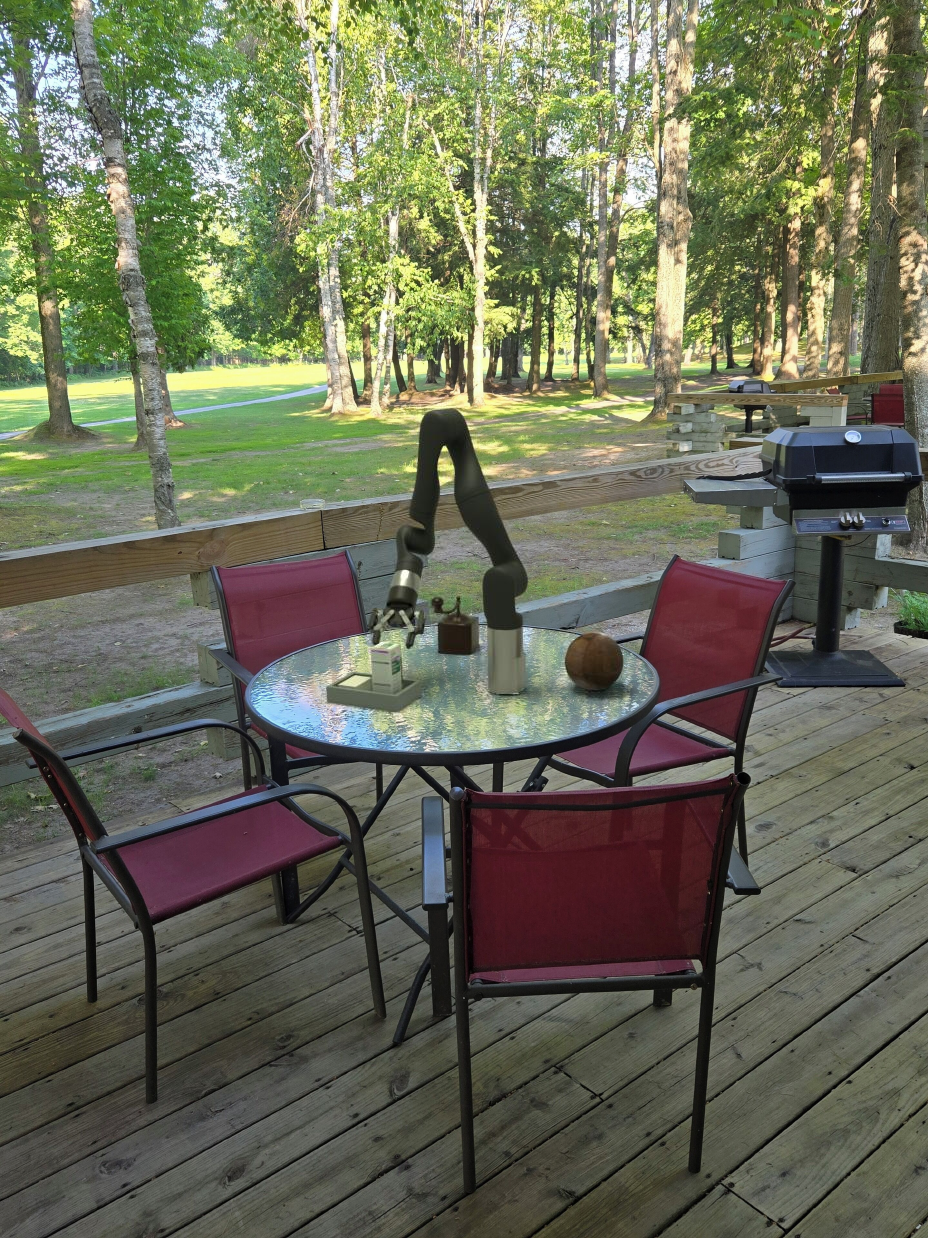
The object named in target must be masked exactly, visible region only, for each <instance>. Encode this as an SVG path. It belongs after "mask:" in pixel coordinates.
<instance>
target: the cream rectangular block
mask: <svg viewBox="0 0 928 1238" xmlns="http://www.w3.org/2000/svg"><path fill="white" fill-rule="evenodd" d="M338 686H339V687H343V688H351V689H358V690H365V691H372V677H364V676H356V675H355V676H353V677H351V678H349V679H348V680H346V681H344V682H342V683H340V684H339V685H338Z"/></svg>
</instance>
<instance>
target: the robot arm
mask: <svg viewBox="0 0 928 1238" xmlns="http://www.w3.org/2000/svg"><path fill="white" fill-rule="evenodd" d="M443 447H446V449H447V451H448V453H449V454H448V455H449V456H450V458H451V459H450V460H451V462H452V465H453V471H454V481H453V494H454V495H453V496H454V500H455V503H456V507H457V509H458V512H459V515H460V516H461V519H462V522H463V523H464V525H465V526H466V528H467V529H468V530H469V531H470V532H471V533H472V534H473V536H474V537H475V538H476V539H477V540H478V541H479V542H480V543H481V544H482V545H483V547H484V549H485V550H486V552H487V554H488V556H489V559H490V561H491V563H492V567H490V568H488V569H487V570H486V571H485V573H484V575H483V578H482V584H481V585H482V590H481V591H482V604H483V605H482V608H483V614H484V618H485V620H486V636H487V637H486V639H487V640H486V645H487V647H486V650H487V651H486V652H487V653H486V654H487V656H486V657H487V658H486V659H487V665H486V666H487V690H489V691H490V692H489V691H488V692H489V693H491V692H492V693H491V694H494V693H496V694H495V695H499V694H511V693H519V692H520V691H521V690H522V689H523V688H525V687H526V688H527V654H526V652H524V617H523V615H522V614H521V613H520V612H518V611H517V610H516V598H518V597H519V596H522V595H523V594H524V593H525V592H526V590H527V589H528V585H529V578H528V577H529V576H528V574H527V570H526V568H525V567H524V564H523V563H522V561H521V558H520V557H519V555H518V553H517V551H516V550H515V548H514V546H513V544H512V541H511V540H510V537H509V534H508V532H507V530H506V527H505V525H504V524H505V523H504V522H503V520H502V518H501V516H500V513H499V509H498V508H497V504H496V501H495V500H494V496H493V495H492V492H491V490H490V487H489V486H488V483H487V482H488V481H486V478H485V475H484V472H483V470H482V467H481V465H480V462H479V459H478V456H477V454H476V451H475V448H474V444H473V441H472V435H471V433H470V429H469V426H468V423H467V421H466V419H465V416H463V414H462V413H461V412H460V411H459V410H457V409H456V408H438V409H431V410H429V411H427V412H426V413H425V414H424V415H423V416H422V418H421V421H420V425H419V433H418V448H417V460H416V461H417V464H416V465H417V466H416V475H415V481H414V482H415V483H414V487H413V491H412V496H411V499H410V503H409V504H410V506H409V510H408V515H409V518H410V519H412V520H413V521H415V522H416V523H419V524H420V525H422V526H423V528H422V527H418V526H413V525H410V524H403V525H402V526H400V527H399V528H398V529H397V532H396V536H395V544H396V552H397V554H396V555H397V559H396V565H395V570H394V572H393V573H394V574H393V577H392V579H391V582H390V587H389V591H388V596H387V599H386V604H385V608H384V609H383V610H381V609H380V610H379V609H378V608H377V607H374V608H372V612H371V614H370V618H369V621H368V624H367V628H368V629H369V631H370V633H371V634H372V633H373V634H372V638H371V642H372V644H373V646H375V645H377V644H379V643H381V642H380V641H381V637H382V633H384V632H385V631H387V630H389V628H400V629H403V628H404V627H405V628H407V629H408V633H407V636H406V637H407V638H406V643H405V647H406V649H407V650H411V648H413V647H414V644H415V639H416V636H417V635H418V636H419V635H421V636H422V635H423V634H424V633H425V626H426V618H427V615H426V612H425V610H424V609H420V610H419V611H416V607H417V604H418V603H417V602H418V598H419V595H420V588H421V579H422V574H423V569H424V561H423V560H422V559H421V558H420V557H419V556H429V555H431V554H432V553H433V551H434V550H435V548H436V547H435V546H436V533H435V521H436V512H437V509H438V506H439V502H440V496H441V483H440V478H439V471H438V468H439V467H438V465H439V460H440V455H441V453H442V450H443ZM418 555H419V556H418ZM382 616H383V617H382ZM381 617H382V618H381ZM415 618H416V619H417V626H416V627H414V626H413V624H412V623H411V622H412V621H413V620H414V619H415ZM526 688H525V689H526ZM520 693H521V692H520ZM520 693H519V694H520Z"/></svg>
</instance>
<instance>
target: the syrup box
mask: <svg viewBox="0 0 928 1238" xmlns="http://www.w3.org/2000/svg"><path fill="white" fill-rule="evenodd" d="M369 652H370V662H371V663H370V665H371V667H370V668H371V674H372V685H373V692H380V693H387V694H394V695H395V694H397V693H398V692H400V691H402V690H403V678H404V677H403V659H402V644H401V643H400V642H396V641H395V642H394V641H381V642H379V644H377V645H375V646H374V645H373V646H371V647H370V649H369Z"/></svg>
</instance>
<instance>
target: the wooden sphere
mask: <svg viewBox="0 0 928 1238" xmlns="http://www.w3.org/2000/svg"><path fill="white" fill-rule="evenodd" d="M564 667H565V672H566V674H567V676H568V677H569V679H570V680H571V681H572V683H573V684H575V686H578V687H579V688H581V689H583V690H586V689H587V690H586V691H591V690H597V691H601V690H606V689H608V688H609V687H612V685H614V684H615V683H616V682H617V680H618V679H619V678H620V676H621V674H622V672H623V670H624V669H623V668H624V655H623V651H622V649H621V647H620V645H619V644H618V643H617V642H616V640H615V639H613V638H612V637H611V636H609V635H607V634H605V633H602V632H597V631H596V632H594V631H593V632H587V633H586V632H585V633H583V634H581V635H579V636H578V637H576V638H575V639H574V640H572V641H571V642H570V644H569V646H568V647H567V649H566V651H565V655H564Z"/></svg>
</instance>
